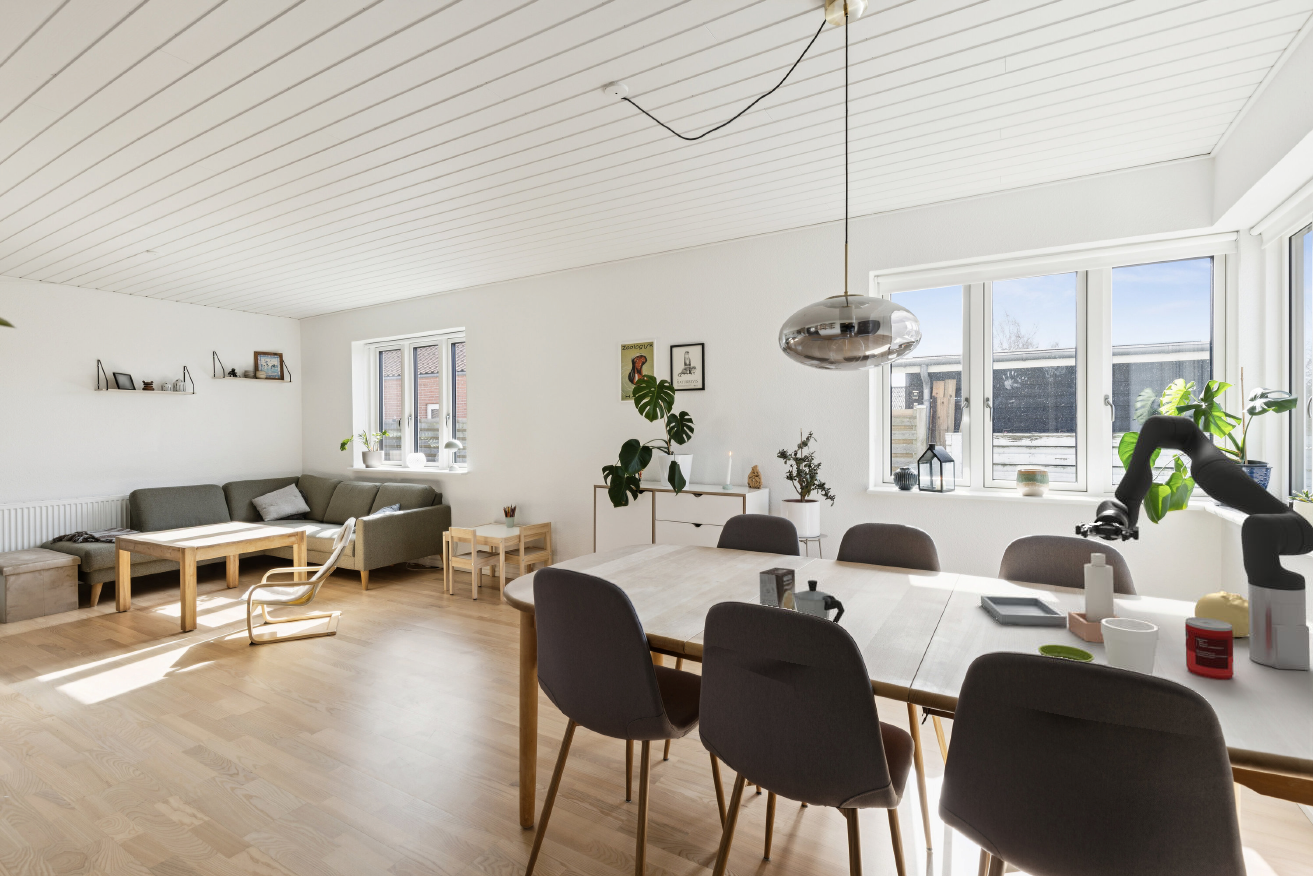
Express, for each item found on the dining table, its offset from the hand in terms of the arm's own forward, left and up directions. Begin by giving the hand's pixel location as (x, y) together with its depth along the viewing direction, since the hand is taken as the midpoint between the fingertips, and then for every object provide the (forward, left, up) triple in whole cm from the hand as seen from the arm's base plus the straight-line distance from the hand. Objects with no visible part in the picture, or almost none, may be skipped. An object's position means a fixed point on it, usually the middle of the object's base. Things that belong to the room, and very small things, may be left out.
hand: (1103, 535), depth 170 cm
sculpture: (-3, -26, -25) cm, 36 cm away
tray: (+8, +18, -24) cm, 31 cm away
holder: (-9, +5, -24) cm, 26 cm away
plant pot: (-50, +28, -25) cm, 63 cm away
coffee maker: (-34, +76, -24) cm, 87 cm away
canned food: (-33, -6, -24) cm, 42 cm away
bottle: (-9, +5, -24) cm, 26 cm away
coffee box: (-14, +86, -24) cm, 91 cm away
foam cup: (-44, +14, -24) cm, 52 cm away
